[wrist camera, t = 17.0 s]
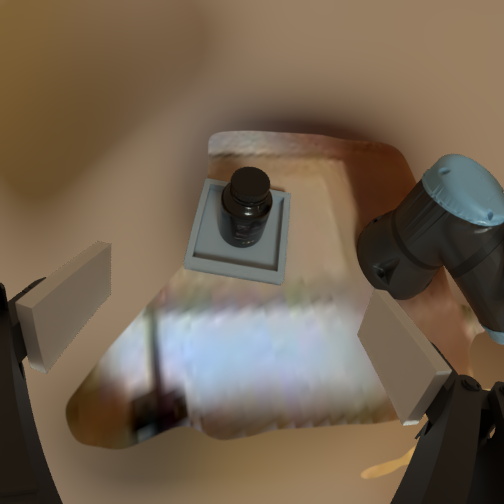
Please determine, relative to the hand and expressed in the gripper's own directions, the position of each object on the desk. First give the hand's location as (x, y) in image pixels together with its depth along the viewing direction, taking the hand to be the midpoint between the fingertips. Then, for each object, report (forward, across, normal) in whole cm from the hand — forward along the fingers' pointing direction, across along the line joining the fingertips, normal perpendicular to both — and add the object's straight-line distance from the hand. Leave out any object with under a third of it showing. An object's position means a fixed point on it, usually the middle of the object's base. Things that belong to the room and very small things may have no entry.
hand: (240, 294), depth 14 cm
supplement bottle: (+33, 0, -6) cm, 33 cm away
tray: (+33, 0, -6) cm, 34 cm away
